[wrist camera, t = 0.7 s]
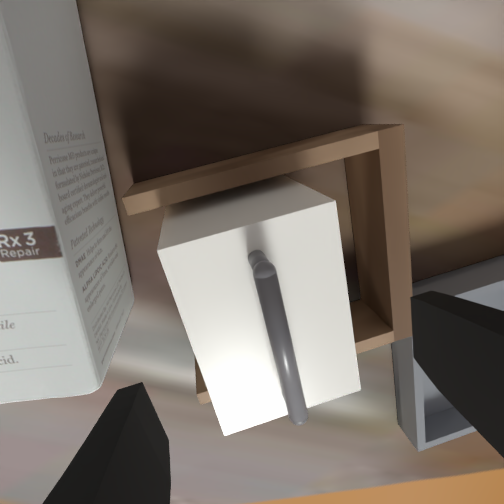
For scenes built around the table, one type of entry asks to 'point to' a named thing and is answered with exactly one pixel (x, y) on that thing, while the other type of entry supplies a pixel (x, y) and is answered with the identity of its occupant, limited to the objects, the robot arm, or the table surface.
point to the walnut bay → (361, 206)
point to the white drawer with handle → (262, 298)
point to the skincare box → (54, 212)
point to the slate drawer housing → (414, 378)
